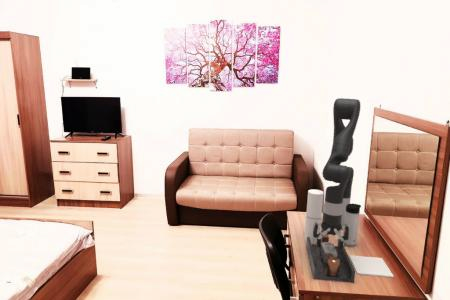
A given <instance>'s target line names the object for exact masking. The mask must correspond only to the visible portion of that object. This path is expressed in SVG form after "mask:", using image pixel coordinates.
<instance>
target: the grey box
mask: <svg viewBox="0 0 450 300" xmlns="http://www.w3.org/2000/svg"><path fill="white" fill-rule="evenodd" d="M334 246H335V245H334V243H332V242H329V241H328V242H324V243H321V253H322V256H323V260H324V262H328V258H329V257H336V258H337V252H336V249H335V247H334Z"/></svg>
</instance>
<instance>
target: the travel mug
mask: <svg viewBox="0 0 450 300" xmlns="http://www.w3.org/2000/svg"><path fill="white" fill-rule="evenodd" d="M361 208H362V205H361V204H358V203H350V204H347V205H346V212H345V220H344V225H345V224H347V225H348V227H349V237H348V240H344V241H343V245H344V246H347V247H355V246H356V245H357V238H358V229H359V222H360V221H359V220H360V213H361V212H360V210H361ZM342 230H343V229H342ZM342 236H344V230H343V233H342Z"/></svg>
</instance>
